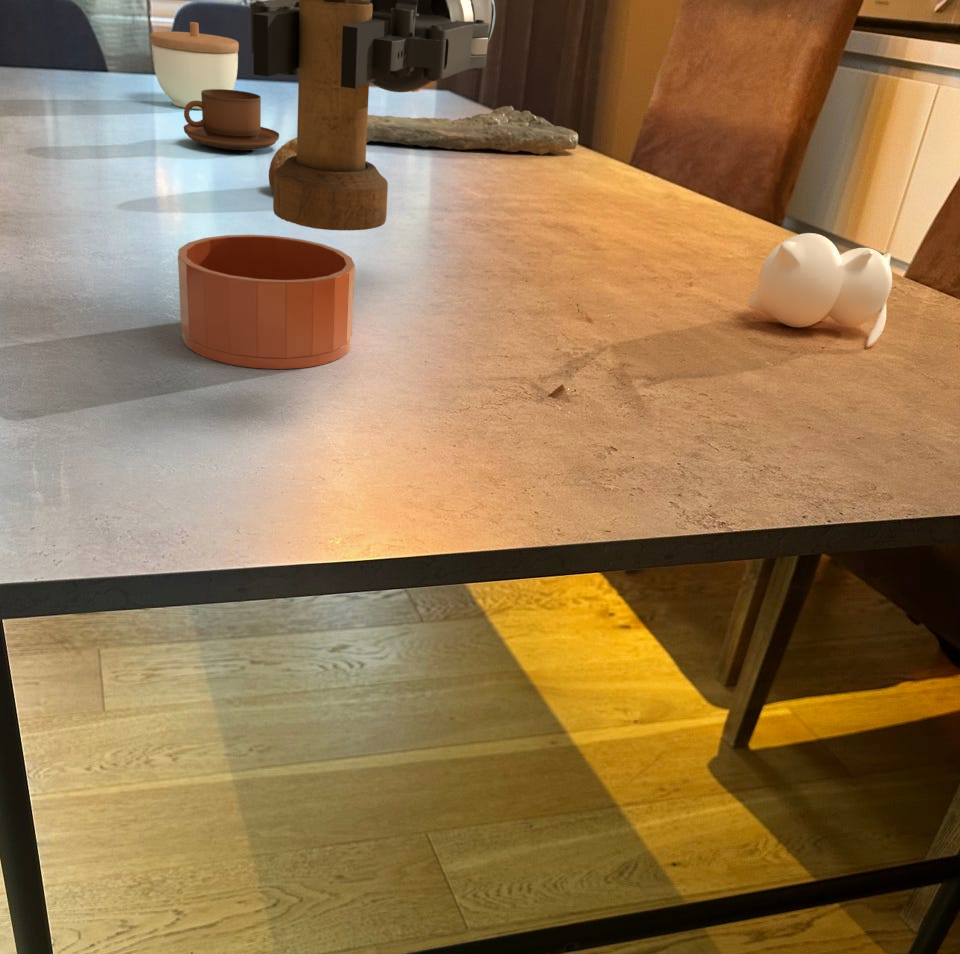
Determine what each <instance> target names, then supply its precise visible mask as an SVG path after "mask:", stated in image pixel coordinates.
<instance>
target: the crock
mask: <svg viewBox="0 0 960 954" xmlns="http://www.w3.org/2000/svg"><path fill="white" fill-rule="evenodd" d="M177 267H178V268H177V269H178V285H179V286H178V287H179V288H178V289H179V306H180V307H179V308H180V309H179V310H180V328H181V338H182V342H183V343H184V345H185V346H186V347H187V348H188V349H189V350H191V351H192V352H193V353H195V354H197V355H199V356H201V357H204V358H206V359H209V360H212V361H216V362H219V363H223V364H227V365H232V366H237V367H244V368H252V369H261V370H262V369H263V370H264V369H265V370H266V369H267V370H290V369H291V370H292V369H303V368H311V367H317V366H321V365H326V364H328V363H332V362H335V361H337V360H339V359H341V358H342V357H345V355H346V354H348V353H349V351H350V349H351V345H352V337H353V319H354V318H353V317H354V313H353V312H354V292H355V291H354V290H355V267H356V266H355V263H354V261H353V259H352V256H350V255H348V254H346V253H345V252H344V251H342V250H340V249H337V248H334V247H332V246H329V245H326V244H323V243H320V242H314V241H310V240H307V239H306V240H305V239H301V238H294V237H286V236H279V235H277V236H276V235H266V234H265V235H264V234H226V235H218V236H211V237H210V236H209V237H203V238H200V239H199V238H198V239H196V240H193V241H190V242H187V243H185V244H184V245H182V246H181V247H180V248H178V251H177Z"/></svg>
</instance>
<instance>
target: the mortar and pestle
mask: <svg viewBox="0 0 960 954" xmlns="http://www.w3.org/2000/svg"><path fill="white" fill-rule="evenodd" d="M372 11H373V4H372V3H370V2H367V1H363V0H299V68H298V79H297V80H298V82H297V83H298V84H297V87H298V89H297V90H298V91H297V131H296V135H297V136H296V138H297V156H293V157H290V158H288V159H287V160H286V161H285V162H284V163H283V164H282V165H281V166H280V167H279V168H277V169H276V170H275V172H274V192H273V201H272V202H273V204H272V205H273V206H272V207H273V208H272V209H273V214H274V216H276V217H277V218H279V219H280V220H284V221H285V222H289V223H291V224H294V225H299V226H300V227H306V228H311V229H315V230H316V229H317V230H325V231H366V230H371V229H376V228H379V227H381V226H383V225H384V224H386V222H387V215H388V214H387V213H388V193H389V191H388V190H389V184H388V180H387V179H386V177H384V176H383V175H381V173H380V172H379V170H378V169H377V167H376V166H375V165H374V164H372V163H371V162H369V161H367V160H366V159H367V158H366V157H367V142H366V139H367V117H368V115H369V114H368V113H369V94H370V93H369V92H370V83H369V84H366V85H364V86H361V87H358V88H356V89H353V88H346V87H341V65H342V31H343V26H344V25H349V24H354V23H359V22H364V21H370V20H372Z"/></svg>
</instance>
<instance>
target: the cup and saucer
mask: <svg viewBox="0 0 960 954" xmlns="http://www.w3.org/2000/svg"><path fill="white" fill-rule="evenodd" d="M201 98H202V101H191V102H189V103H188V104H187V105H186V107H185V108H184V110H183V115H184V120H185V122H186V124H184V125H183V131H184V133H185V134H186V135H187V136H188V138H190V139H191V140H192V141H194V142H196V143H199V144H201V145H204V146H208V147H210V148H211V147H212V148H216V149H220V150H227V151H254V150H255V151H257V150H262V149H265V148H269V147H271V146H273V145H275V144H276V143H277V141H279V139H280V133H279V132H277V131H276V130H273V129H271V128H268V127H265V126H264V127H263V126H261V125H262V124H261V117H262V115H261V110H262V109H261V108H262V105H261V103H262V99H261V98H262V97H261V95H260V94H256V93H253V92H249V91H243V90H236V89H233V90H225V89H209V90H203V91H201ZM195 106H197V107H200V108H202V110H201V116H202V119H200V120H198V121H194V120H193V119H192V118H191V116H190V111H191V110H192V109H191V108H192V107H195Z"/></svg>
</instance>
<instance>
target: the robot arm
mask: <svg viewBox="0 0 960 954" xmlns="http://www.w3.org/2000/svg"><path fill="white" fill-rule="evenodd" d="M363 1H367V2H370V3H372V4H373V11H372V20H370V21H364V22H359V23H354V24H349V25H344V26H343V31H342V65H341V87H346V88H353V89H356V88H358V87H361V86H364V85H366V84H369V85H370V84H372V85H373V86H376V87H377V88H380V89H381V90H384V91H388V92H393V93H409V92H410V93H418V92H419V91H421V88H424V87H426V86H428V85H430V84H432V83H433V82H437V81H438V80H444V79H446V78H449V77H451V76H453V75H456V74H457V75H458V74H460V73H462V72H464V71H467V70H476V71H480V69H485V68H486V64H487V63H486V62H487V53H488V44H489V41H490V40H491V37H492V34H493V32H494V28H495V21H496V5H495V0H363ZM249 44H250V45H249V49H250V50H249V52H250V53H252V54H253V76H261V77H271V76H275V75H279V74H281V75H286V76H297V75H298V69H299V0H256V1H255V2H250V3H249Z"/></svg>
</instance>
